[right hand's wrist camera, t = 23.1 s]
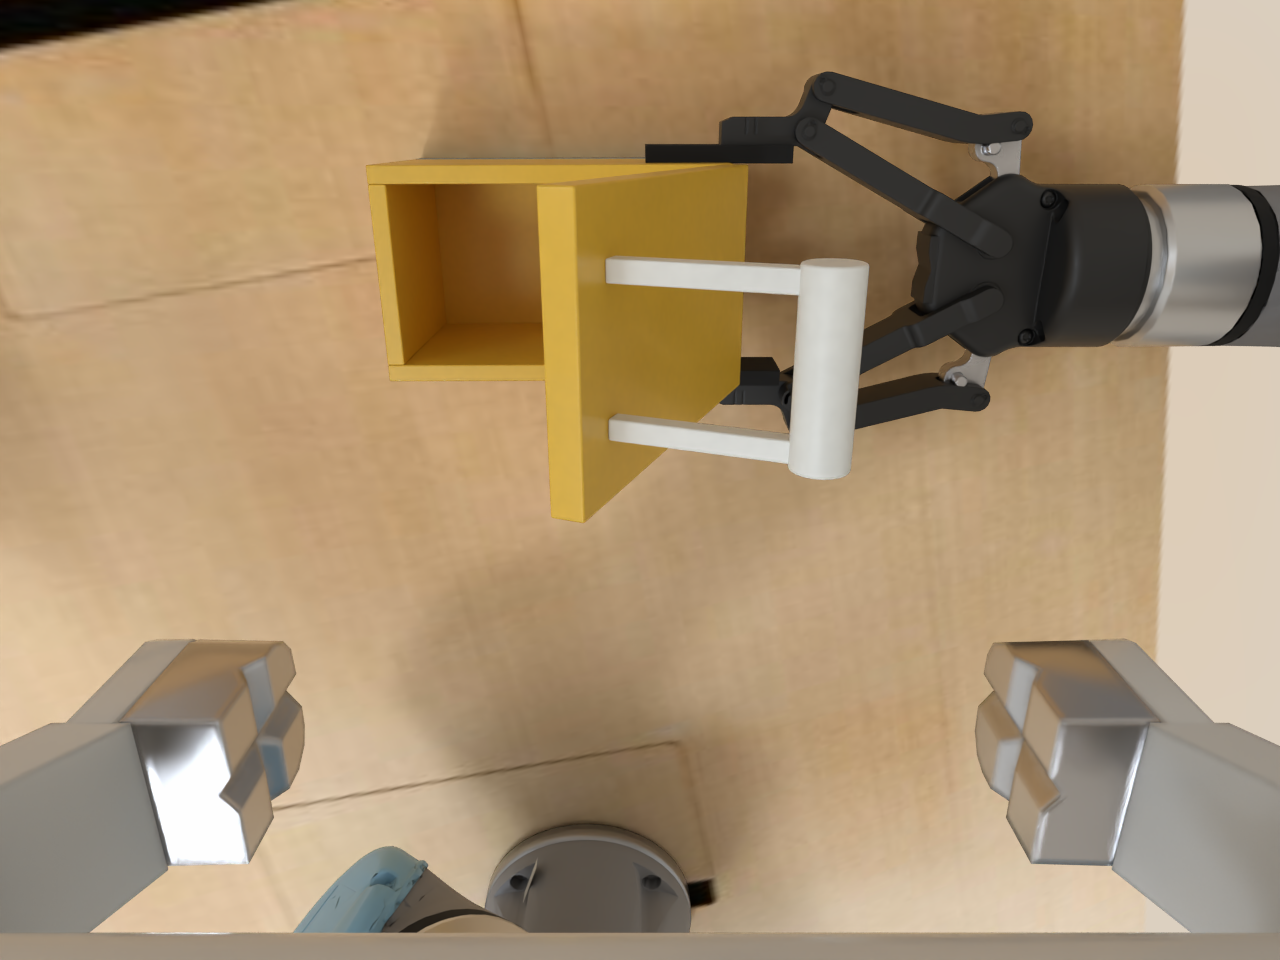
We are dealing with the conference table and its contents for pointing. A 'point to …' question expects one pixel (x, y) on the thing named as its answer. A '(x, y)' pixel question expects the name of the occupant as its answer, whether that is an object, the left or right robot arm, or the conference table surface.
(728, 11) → the conference table surface
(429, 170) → the chest
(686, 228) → the lid
